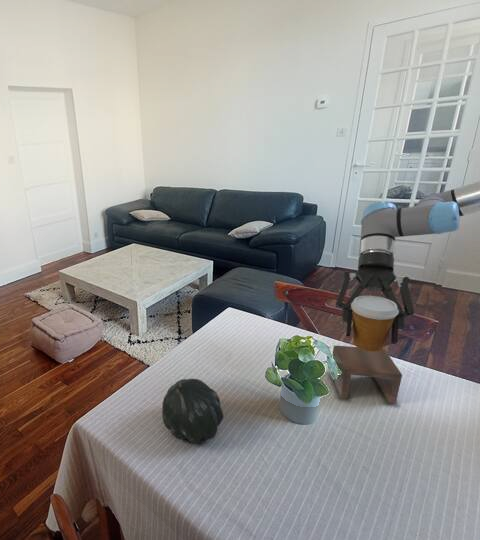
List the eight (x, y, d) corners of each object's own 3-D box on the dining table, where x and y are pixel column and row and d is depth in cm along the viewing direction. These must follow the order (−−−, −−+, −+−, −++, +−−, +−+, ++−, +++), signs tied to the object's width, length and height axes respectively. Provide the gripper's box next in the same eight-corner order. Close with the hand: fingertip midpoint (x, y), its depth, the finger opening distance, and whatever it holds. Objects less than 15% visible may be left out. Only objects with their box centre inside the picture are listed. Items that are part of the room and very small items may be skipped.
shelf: (379, 376, 94) (384, 348, 91) (395, 404, 85) (402, 374, 81) (330, 371, 98) (333, 345, 95) (340, 397, 88) (345, 369, 85)
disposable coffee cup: (390, 360, 80) (399, 315, 76) (343, 348, 86) (349, 307, 82) (392, 340, 87) (400, 299, 83) (348, 331, 93) (354, 292, 89)
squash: (234, 394, 86) (193, 355, 85) (234, 444, 73) (185, 399, 72) (193, 416, 93) (155, 380, 92) (187, 465, 80) (142, 423, 79)
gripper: (424, 266, 87) (423, 351, 80) (328, 259, 98) (320, 334, 91) (433, 253, 81) (432, 344, 74) (330, 247, 92) (321, 326, 85)
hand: (370, 338), depth 83 cm, fingers closed on disposable coffee cup, 8 cm apart
